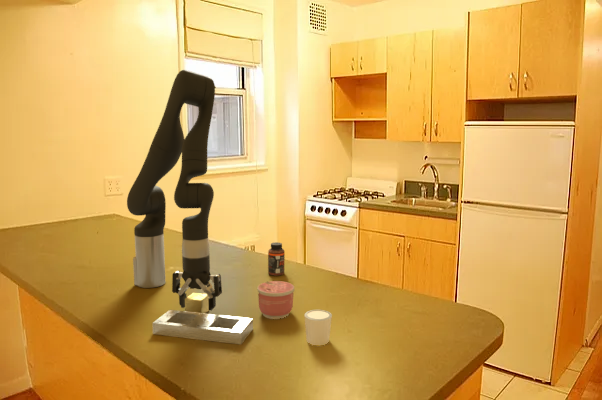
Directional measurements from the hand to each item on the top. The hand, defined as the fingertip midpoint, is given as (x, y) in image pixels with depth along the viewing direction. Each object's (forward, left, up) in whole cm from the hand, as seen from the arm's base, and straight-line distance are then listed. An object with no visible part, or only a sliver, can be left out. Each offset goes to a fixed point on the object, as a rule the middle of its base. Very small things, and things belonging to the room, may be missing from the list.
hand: (197, 308), depth 133 cm
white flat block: (+7, -11, -1) cm, 13 cm away
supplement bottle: (+12, +40, -2) cm, 42 cm away
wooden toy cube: (0, 0, -2) cm, 2 cm away
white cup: (+37, -9, -2) cm, 38 cm away
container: (+22, +5, -2) cm, 22 cm away
